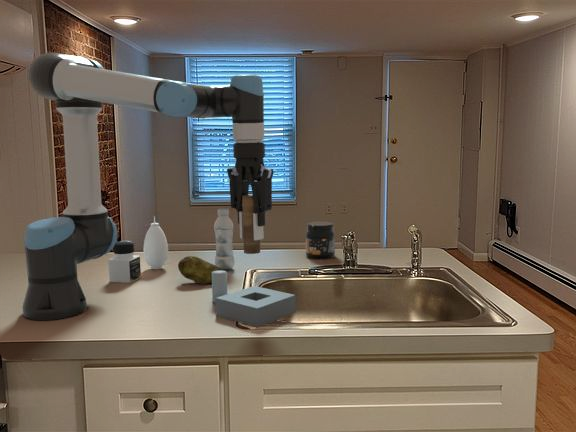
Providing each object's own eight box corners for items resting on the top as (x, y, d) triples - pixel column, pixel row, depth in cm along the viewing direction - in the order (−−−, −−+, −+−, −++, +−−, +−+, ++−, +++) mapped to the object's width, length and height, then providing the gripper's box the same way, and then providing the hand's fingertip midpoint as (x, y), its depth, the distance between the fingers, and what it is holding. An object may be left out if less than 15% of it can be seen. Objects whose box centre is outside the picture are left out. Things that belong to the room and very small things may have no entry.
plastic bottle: (218, 272, 187) (216, 211, 185) (212, 268, 194) (210, 208, 191) (237, 270, 190) (236, 210, 187) (231, 266, 196) (229, 207, 193)
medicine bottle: (130, 283, 176) (128, 244, 174) (109, 282, 177) (106, 243, 176) (141, 277, 183) (139, 239, 181) (120, 276, 184) (118, 239, 182)
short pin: (219, 304, 153) (218, 274, 152) (209, 301, 156) (208, 272, 155) (230, 301, 156) (229, 272, 155) (220, 298, 159) (219, 269, 158)
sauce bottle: (160, 272, 189) (158, 217, 186) (140, 270, 192) (137, 216, 189) (173, 267, 196) (170, 214, 194) (152, 265, 199) (150, 213, 196)
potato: (215, 287, 170) (214, 260, 169) (175, 284, 174) (174, 258, 173) (225, 280, 178) (225, 254, 177) (187, 277, 182) (186, 252, 181)
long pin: (252, 254, 140) (250, 196, 138) (240, 252, 142) (238, 195, 140) (263, 251, 143) (262, 194, 141) (251, 249, 145) (250, 194, 144)
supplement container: (299, 256, 210) (299, 223, 209) (320, 252, 217) (319, 220, 216) (320, 261, 203) (320, 227, 201) (341, 256, 210) (341, 223, 208)
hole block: (257, 327, 135) (257, 308, 135) (216, 315, 144) (215, 297, 144) (295, 312, 146) (295, 294, 145) (254, 302, 155) (254, 285, 154)
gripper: (286, 141, 136) (288, 239, 140) (234, 141, 147) (238, 232, 150) (264, 142, 131) (267, 244, 134) (212, 142, 142) (216, 237, 145)
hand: (251, 238), depth 142 cm, fingers closed on long pin, 4 cm apart
